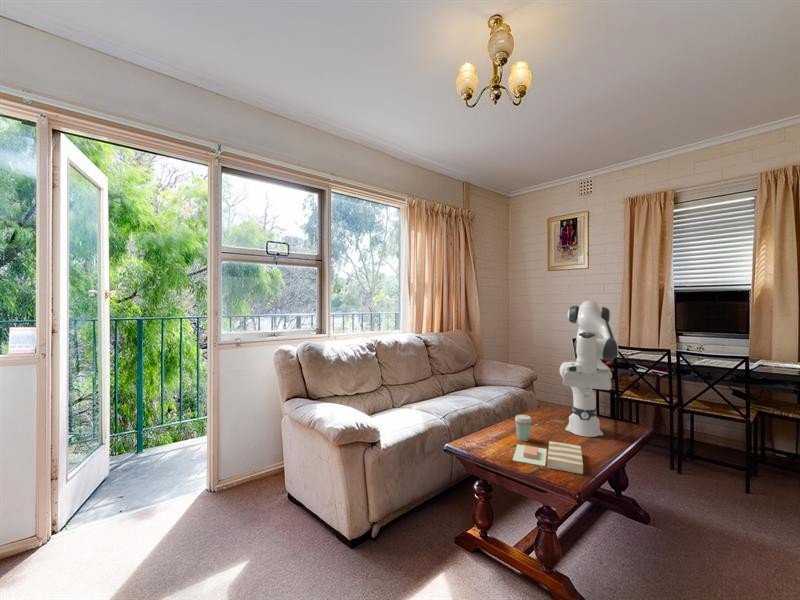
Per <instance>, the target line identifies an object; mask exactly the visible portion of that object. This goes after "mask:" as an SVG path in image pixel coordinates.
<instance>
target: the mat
mask: <svg viewBox="0 0 800 600" xmlns="http://www.w3.org/2000/svg"><path fill="white" fill-rule="evenodd" d="M525 446H526V445H525V444H524V445H523V444H517V443H516V446H515V452H514V454H513V457H512V459H511V460H512V461H513V462H517V463H518V462H519V463H523V464H530V465H535V466H540V467H546V461H547V455H548V453H547V452H548V449H547V448H544V447H537V446H535V447H536V448H538V456H537V459H532V458H526V457H523V452H524V448H525ZM528 446H529V447H532V446H530V445H528Z"/></svg>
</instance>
